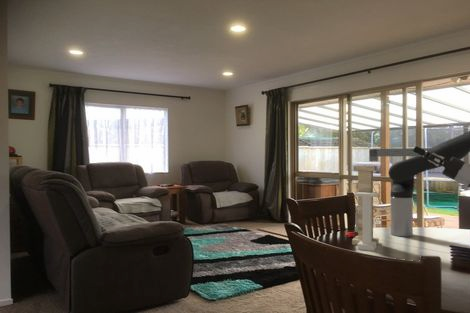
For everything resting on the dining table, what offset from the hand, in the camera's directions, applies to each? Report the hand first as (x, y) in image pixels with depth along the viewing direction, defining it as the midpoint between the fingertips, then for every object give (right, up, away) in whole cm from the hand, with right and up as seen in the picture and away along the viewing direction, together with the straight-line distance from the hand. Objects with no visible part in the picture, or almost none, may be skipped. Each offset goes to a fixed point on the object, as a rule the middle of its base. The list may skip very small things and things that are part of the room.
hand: (414, 148), depth 143 cm
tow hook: (-15, -39, +25) cm, 49 cm away
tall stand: (-16, -39, +9) cm, 43 cm away
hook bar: (-5, -3, +3) cm, 6 cm away
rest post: (-18, -39, +1) cm, 43 cm away
